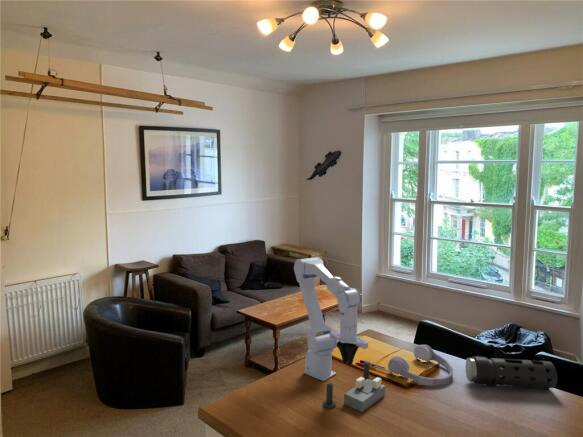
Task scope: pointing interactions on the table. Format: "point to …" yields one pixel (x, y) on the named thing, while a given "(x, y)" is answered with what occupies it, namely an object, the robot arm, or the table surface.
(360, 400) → the block
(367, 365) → the cord stand
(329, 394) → the post
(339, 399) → the table surface
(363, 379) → the block
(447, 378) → the headphones
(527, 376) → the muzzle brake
